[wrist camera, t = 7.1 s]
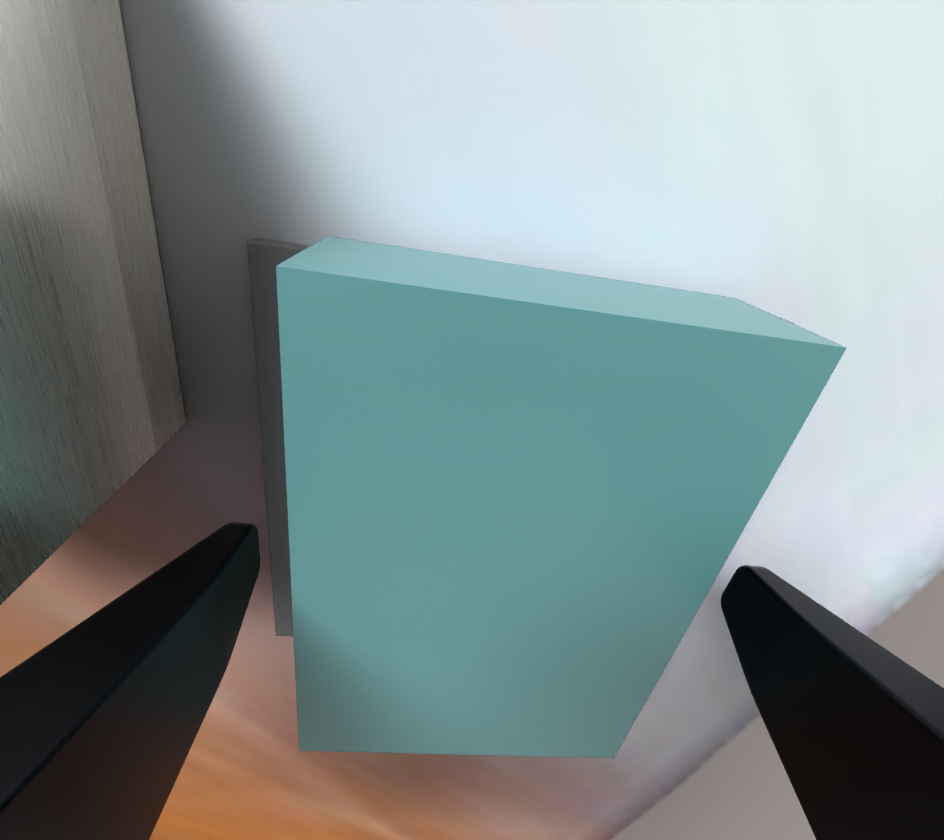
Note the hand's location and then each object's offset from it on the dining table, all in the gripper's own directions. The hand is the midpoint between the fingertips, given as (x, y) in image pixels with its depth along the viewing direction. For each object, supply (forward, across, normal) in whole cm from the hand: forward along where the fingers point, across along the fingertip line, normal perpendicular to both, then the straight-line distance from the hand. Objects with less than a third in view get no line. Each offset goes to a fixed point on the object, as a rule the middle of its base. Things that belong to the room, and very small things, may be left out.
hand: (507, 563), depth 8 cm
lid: (0, 0, 0) cm, 1 cm away
